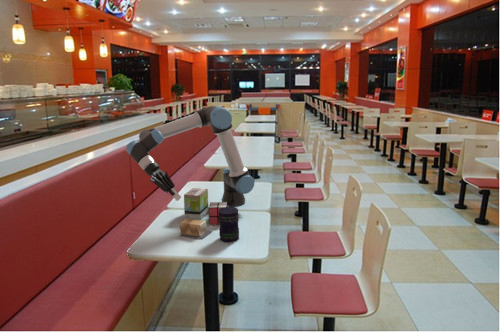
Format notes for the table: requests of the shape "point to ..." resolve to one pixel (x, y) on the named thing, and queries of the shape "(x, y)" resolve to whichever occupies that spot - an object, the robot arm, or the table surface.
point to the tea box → (196, 203)
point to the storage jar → (229, 224)
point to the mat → (197, 236)
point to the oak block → (193, 227)
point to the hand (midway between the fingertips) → (179, 199)
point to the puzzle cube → (215, 212)
